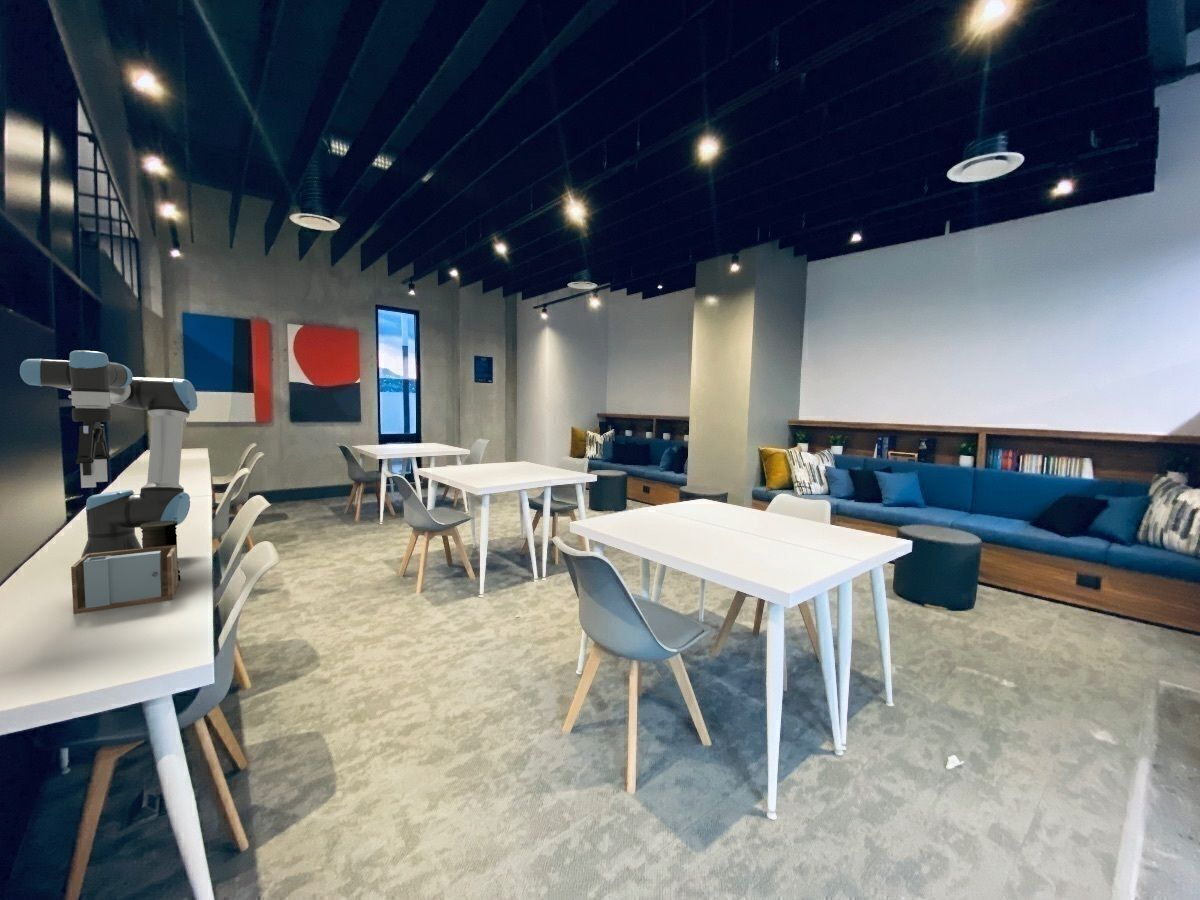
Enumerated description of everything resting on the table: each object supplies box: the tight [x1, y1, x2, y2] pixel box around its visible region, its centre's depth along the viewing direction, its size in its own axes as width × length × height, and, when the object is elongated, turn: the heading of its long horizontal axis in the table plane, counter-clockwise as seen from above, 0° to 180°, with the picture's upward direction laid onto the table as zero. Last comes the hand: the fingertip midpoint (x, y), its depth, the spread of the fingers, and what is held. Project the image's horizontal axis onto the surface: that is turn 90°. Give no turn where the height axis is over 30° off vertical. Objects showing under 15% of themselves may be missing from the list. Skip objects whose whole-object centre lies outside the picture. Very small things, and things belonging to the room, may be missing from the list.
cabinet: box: [70, 544, 179, 615], centre depth 136 cm, size 14×19×12 cm
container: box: [139, 521, 182, 582], centre depth 149 cm, size 9×9×18 cm
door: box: [83, 551, 163, 608], centre depth 132 cm, size 5×14×12 cm, turn 125°
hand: (95, 484), depth 140 cm, fingers open, 12 cm apart
